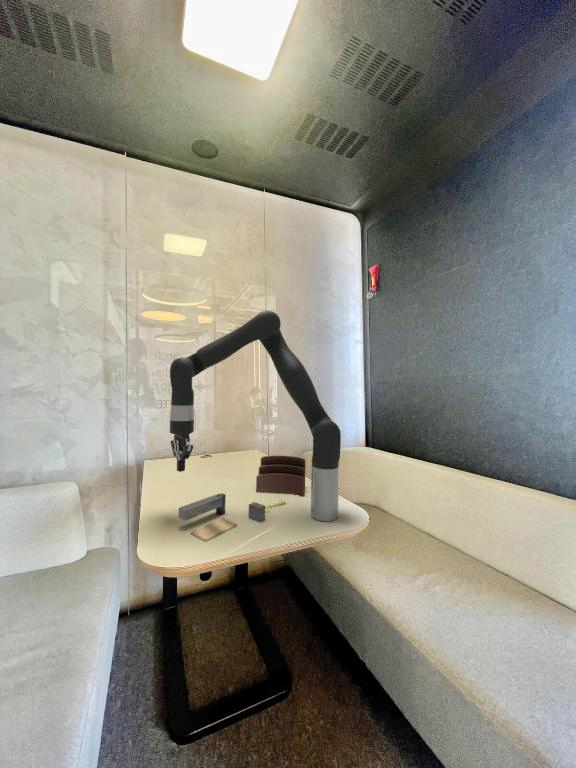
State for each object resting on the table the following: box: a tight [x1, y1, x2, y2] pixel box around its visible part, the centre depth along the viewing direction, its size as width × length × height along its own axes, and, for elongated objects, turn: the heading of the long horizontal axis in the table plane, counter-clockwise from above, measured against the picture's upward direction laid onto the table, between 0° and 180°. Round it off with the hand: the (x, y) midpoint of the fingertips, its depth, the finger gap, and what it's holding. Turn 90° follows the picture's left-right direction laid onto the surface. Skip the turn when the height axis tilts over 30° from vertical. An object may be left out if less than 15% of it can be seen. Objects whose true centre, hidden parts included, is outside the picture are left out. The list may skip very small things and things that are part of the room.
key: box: [260, 499, 287, 514], centre depth 109 cm, size 7×12×2 cm, turn 140°
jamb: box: [248, 501, 266, 523], centre depth 100 cm, size 10×19×5 cm, turn 53°
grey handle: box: [178, 493, 227, 522], centre depth 97 cm, size 17×4×6 cm, turn 143°
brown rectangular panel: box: [190, 517, 238, 543], centre depth 90 cm, size 12×7×1 cm, turn 143°
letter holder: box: [255, 455, 306, 497], centre depth 126 cm, size 10×20×14 cm, turn 84°
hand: (180, 470), depth 99 cm, fingers closed
